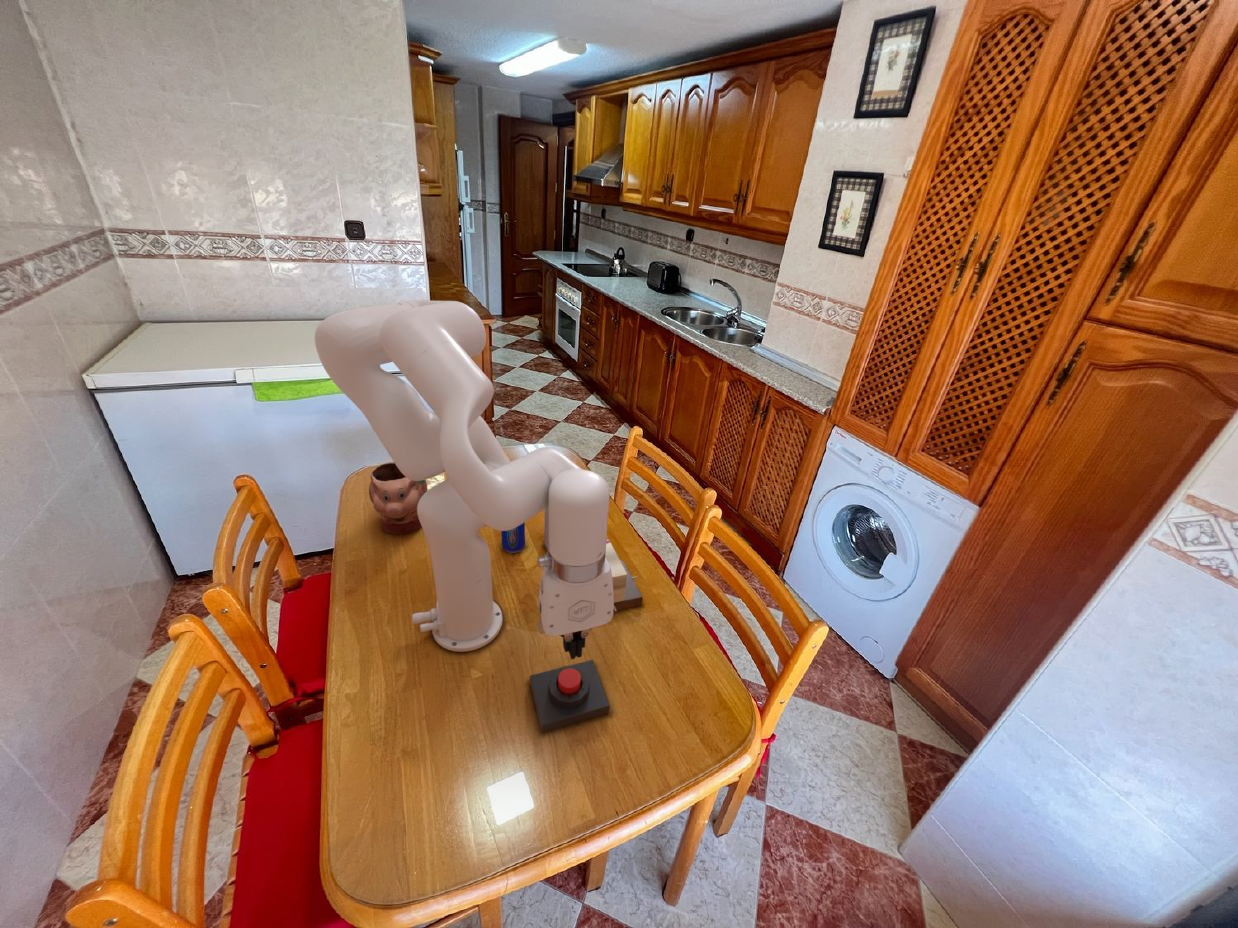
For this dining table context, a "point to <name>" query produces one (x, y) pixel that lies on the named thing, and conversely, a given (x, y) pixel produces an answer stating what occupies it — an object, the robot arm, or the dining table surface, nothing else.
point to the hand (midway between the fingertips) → (573, 650)
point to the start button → (569, 681)
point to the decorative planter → (396, 498)
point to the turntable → (629, 594)
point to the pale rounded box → (616, 573)
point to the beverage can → (514, 539)
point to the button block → (568, 697)
